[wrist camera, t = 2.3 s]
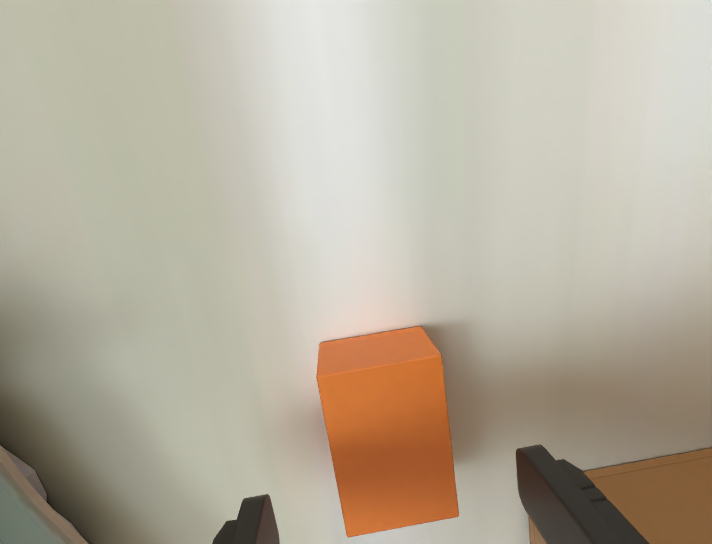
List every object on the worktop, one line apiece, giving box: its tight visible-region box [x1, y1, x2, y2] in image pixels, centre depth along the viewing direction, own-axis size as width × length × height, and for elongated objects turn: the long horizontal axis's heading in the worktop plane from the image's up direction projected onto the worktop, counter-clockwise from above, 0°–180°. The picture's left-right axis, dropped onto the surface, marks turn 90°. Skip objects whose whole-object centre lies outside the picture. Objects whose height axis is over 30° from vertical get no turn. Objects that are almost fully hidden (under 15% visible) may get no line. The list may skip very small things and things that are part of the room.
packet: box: [317, 326, 459, 537], centre depth 15 cm, size 7×4×3 cm, turn 9°
